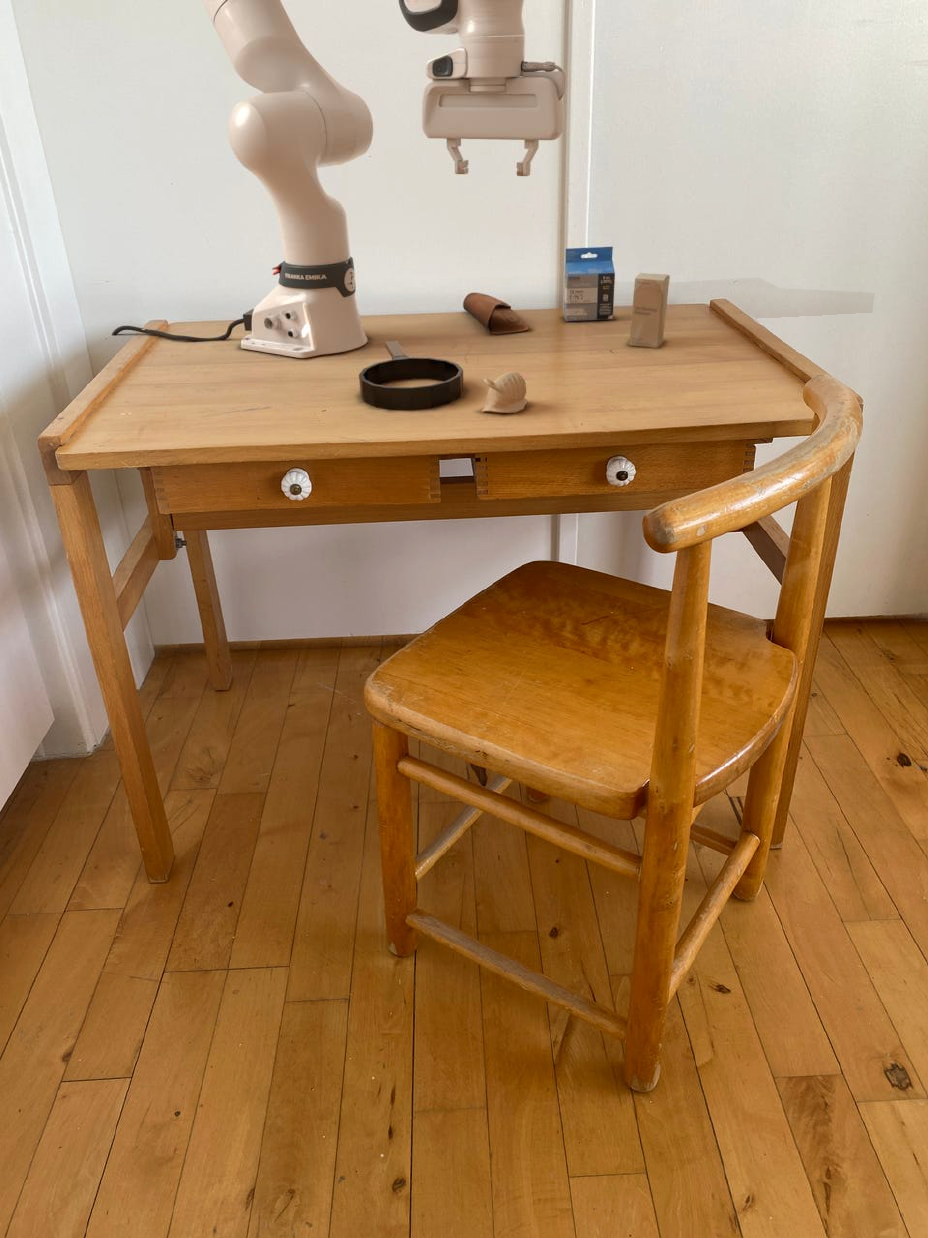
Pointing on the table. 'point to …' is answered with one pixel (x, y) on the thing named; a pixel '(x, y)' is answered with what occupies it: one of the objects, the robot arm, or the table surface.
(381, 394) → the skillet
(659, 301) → the box
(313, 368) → the table surface
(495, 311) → the sunglasses case
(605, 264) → the label tape box
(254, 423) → the table surface
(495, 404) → the decorative ornament
